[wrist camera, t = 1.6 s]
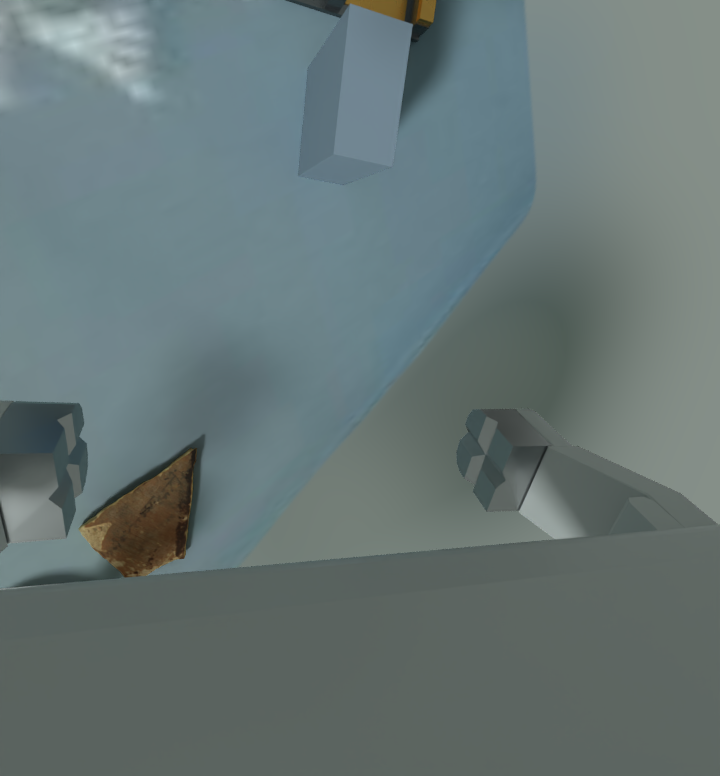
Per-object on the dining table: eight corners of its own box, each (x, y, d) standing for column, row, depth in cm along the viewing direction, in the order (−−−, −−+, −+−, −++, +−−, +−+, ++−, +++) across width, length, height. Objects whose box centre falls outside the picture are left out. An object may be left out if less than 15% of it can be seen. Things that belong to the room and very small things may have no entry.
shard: (195, 440, 38) (196, 449, 37) (249, 504, 42) (251, 515, 40) (77, 519, 37) (72, 532, 36) (141, 578, 40) (139, 592, 39)
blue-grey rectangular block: (343, 185, 36) (392, 166, 27) (297, 176, 35) (333, 154, 26) (355, 81, 34) (412, 24, 25) (307, 68, 33) (350, 3, 24)
